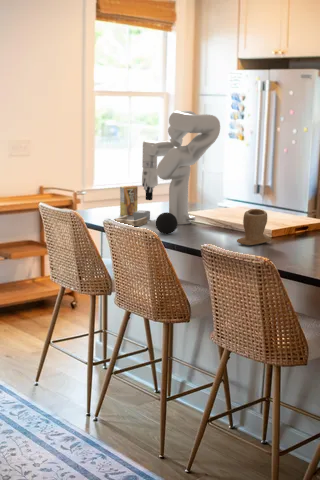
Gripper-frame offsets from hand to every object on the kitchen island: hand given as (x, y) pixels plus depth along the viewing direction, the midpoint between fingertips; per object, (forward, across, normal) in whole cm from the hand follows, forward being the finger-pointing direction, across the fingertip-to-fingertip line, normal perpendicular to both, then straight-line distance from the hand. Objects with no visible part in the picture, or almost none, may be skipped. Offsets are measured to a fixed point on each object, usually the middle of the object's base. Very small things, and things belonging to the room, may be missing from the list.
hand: (149, 199), depth 374 cm
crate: (+9, -10, -1) cm, 14 cm away
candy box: (+10, +2, +13) cm, 16 cm away
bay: (+9, -22, -1) cm, 24 cm away
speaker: (+8, -40, -28) cm, 49 cm away
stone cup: (+7, -44, -72) cm, 85 cm away
